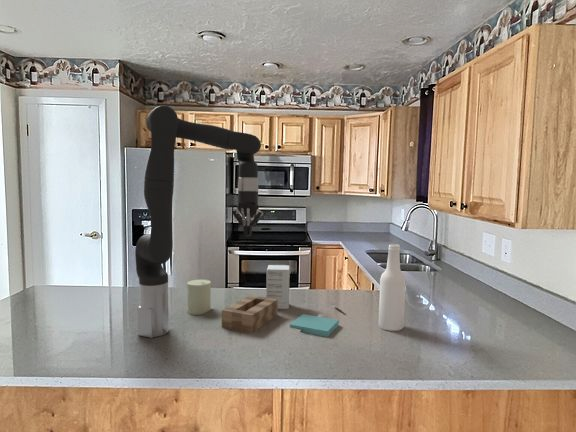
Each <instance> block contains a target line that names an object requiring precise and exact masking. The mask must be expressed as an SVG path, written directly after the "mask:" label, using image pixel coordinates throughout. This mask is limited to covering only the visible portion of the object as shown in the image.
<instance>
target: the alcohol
mask: <svg viewBox="0 0 576 432" xmlns="http://www.w3.org/2000/svg"><path fill="white" fill-rule="evenodd" d="M400 251H401V246H400V244H396V243H391V244H389V245H388V252H387V254H388V255H387V259H386V260H387V263H386V268H385V270H384V272H382V273H381V274H380V275H381V276H380V278H379V301H378V327H380V329H382V330H384V331H388V332H398V331H402V330H403V328H404V325H405V306H406V305H405V301H406V282H407V281H406V277H405V275H404V273H403V272H402V269H401V258H400V257H401V256H400V255H401V254H400Z"/></svg>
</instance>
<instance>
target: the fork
mask: <svg viewBox="0 0 576 432" xmlns="http://www.w3.org/2000/svg"><path fill="white" fill-rule="evenodd" d="M325 301H326V304H327V306H331V307H332V308H333V309H336V310H337V311H338V312H339V313H340V314H343V315H344V316H345V315H347V314H346V313H345V312H344V311H342V309H340V308H338V307H337V306H334V303H333V302H332V299H326V300H325Z"/></svg>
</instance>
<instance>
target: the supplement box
mask: <svg viewBox="0 0 576 432" xmlns="http://www.w3.org/2000/svg"><path fill="white" fill-rule="evenodd" d="M290 269H291V267H290V265H287V264H268V265H267V268H266V283H265V284H266V286H265V287H266V289H265V290H266V291H265V293H266V297H265V298H272V299H278V310H282V309H283V310H289V308H290V285H291V284H290V278H291V277H290V275H291V274H290V273H291V270H290Z"/></svg>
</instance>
